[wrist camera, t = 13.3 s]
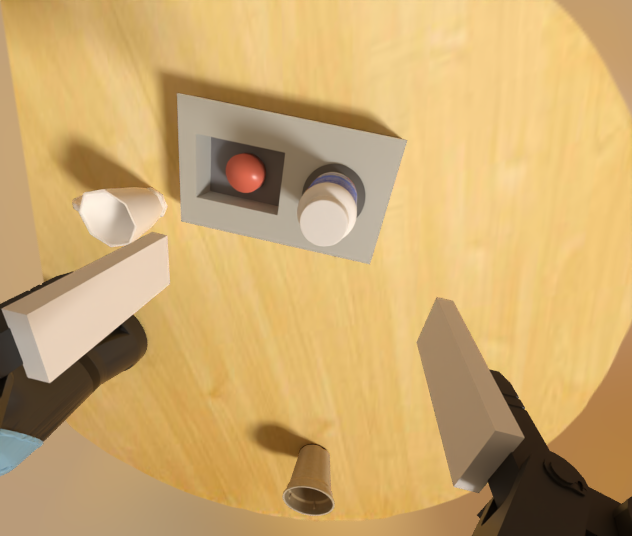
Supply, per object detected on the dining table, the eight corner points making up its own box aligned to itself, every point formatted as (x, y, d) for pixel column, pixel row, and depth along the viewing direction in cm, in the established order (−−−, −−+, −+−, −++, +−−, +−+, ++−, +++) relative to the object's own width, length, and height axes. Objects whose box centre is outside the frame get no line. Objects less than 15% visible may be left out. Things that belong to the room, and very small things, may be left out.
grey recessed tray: (197, 212, 40) (179, 222, 36) (196, 96, 34) (175, 92, 30) (369, 251, 39) (369, 265, 35) (402, 138, 32) (407, 140, 29)
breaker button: (230, 186, 37) (225, 188, 35) (232, 149, 35) (226, 150, 33) (264, 193, 37) (259, 196, 35) (267, 156, 35) (263, 158, 33)
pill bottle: (306, 173, 31) (285, 191, 23) (357, 169, 30) (355, 187, 22) (311, 221, 34) (293, 255, 25) (358, 220, 33) (356, 253, 24)
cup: (176, 232, 42) (138, 254, 35) (110, 215, 42) (59, 234, 35) (176, 183, 39) (133, 196, 31) (104, 165, 39) (46, 174, 32)
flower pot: (346, 462, 60) (344, 511, 52) (309, 471, 63) (301, 519, 55) (321, 433, 57) (315, 482, 49) (283, 445, 60) (272, 492, 52)
